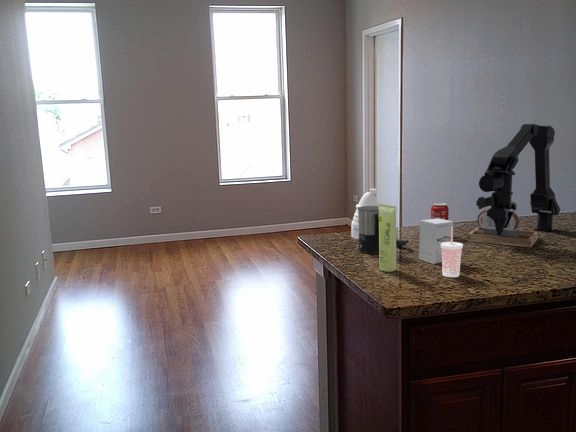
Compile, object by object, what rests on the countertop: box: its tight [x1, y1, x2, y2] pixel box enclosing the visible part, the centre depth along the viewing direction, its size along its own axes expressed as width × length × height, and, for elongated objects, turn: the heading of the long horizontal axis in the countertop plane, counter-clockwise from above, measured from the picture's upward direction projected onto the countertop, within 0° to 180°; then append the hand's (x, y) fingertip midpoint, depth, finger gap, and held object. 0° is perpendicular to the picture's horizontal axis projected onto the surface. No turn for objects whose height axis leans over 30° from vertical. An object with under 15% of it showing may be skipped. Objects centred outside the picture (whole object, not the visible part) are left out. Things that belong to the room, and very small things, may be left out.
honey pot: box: [350, 188, 380, 240], centre depth 217 cm, size 13×13×18 cm
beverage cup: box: [441, 226, 464, 278], centre depth 165 cm, size 6×6×14 cm
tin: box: [476, 208, 520, 229], centre depth 221 cm, size 15×3×8 cm, turn 58°
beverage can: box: [430, 202, 450, 220], centre depth 216 cm, size 6×6×12 cm
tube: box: [378, 203, 397, 273], centre depth 171 cm, size 6×5×20 cm
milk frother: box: [356, 206, 409, 254], centre depth 196 cm, size 14×16×15 cm
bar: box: [483, 226, 520, 238], centre depth 205 cm, size 11×4×4 cm, turn 53°
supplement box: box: [418, 218, 454, 265], centre depth 181 cm, size 7×7×13 cm
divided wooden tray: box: [467, 226, 539, 248], centre depth 207 cm, size 14×21×2 cm
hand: (501, 233), depth 204 cm, fingers open, 6 cm apart
